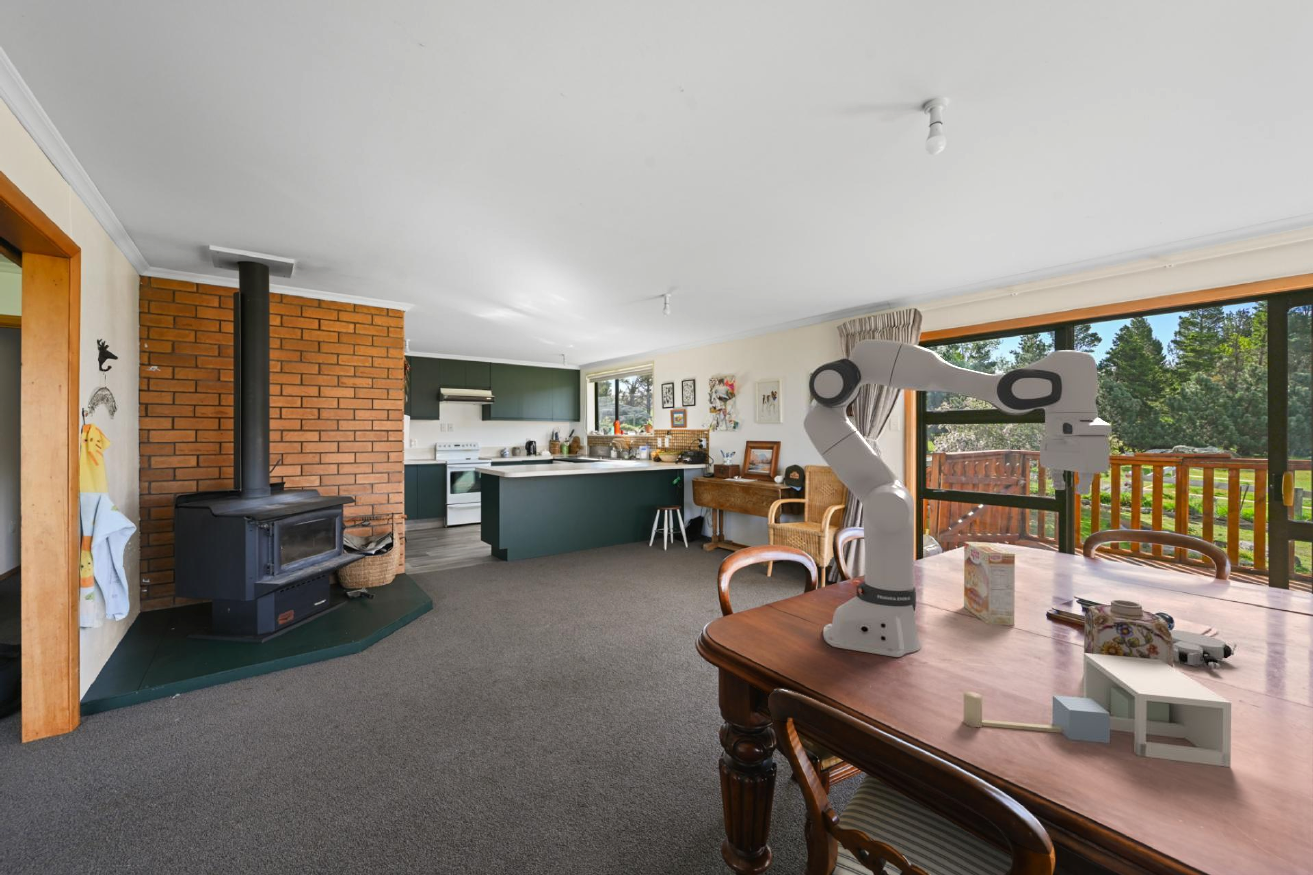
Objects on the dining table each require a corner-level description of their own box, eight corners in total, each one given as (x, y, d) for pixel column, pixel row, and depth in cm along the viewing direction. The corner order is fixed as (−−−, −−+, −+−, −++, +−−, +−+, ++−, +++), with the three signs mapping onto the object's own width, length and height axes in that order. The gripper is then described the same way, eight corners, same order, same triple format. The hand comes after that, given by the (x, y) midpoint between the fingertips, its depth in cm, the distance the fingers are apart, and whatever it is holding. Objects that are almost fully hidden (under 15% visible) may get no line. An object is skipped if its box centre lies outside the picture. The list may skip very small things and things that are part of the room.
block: (1127, 728, 92) (1128, 699, 92) (1110, 713, 97) (1110, 686, 97) (1168, 732, 91) (1169, 704, 91) (1149, 717, 96) (1149, 690, 96)
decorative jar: (1174, 714, 97) (1175, 616, 97) (1092, 697, 103) (1093, 605, 103) (1156, 687, 107) (1157, 599, 107) (1083, 673, 113) (1083, 590, 113)
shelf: (1138, 755, 84) (1138, 693, 84) (1083, 705, 100) (1083, 652, 100) (1230, 766, 82) (1231, 702, 81) (1158, 713, 97) (1159, 659, 97)
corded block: (969, 730, 92) (970, 701, 91) (958, 715, 96) (958, 687, 96) (1109, 743, 88) (1109, 713, 88) (1090, 726, 93) (1090, 698, 93)
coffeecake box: (962, 606, 157) (963, 541, 157) (988, 607, 156) (989, 542, 156) (987, 624, 142) (987, 552, 142) (1015, 626, 141) (1016, 553, 141)
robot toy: (1222, 681, 112) (1237, 659, 120) (1222, 660, 112) (1237, 640, 120) (1145, 661, 122) (1164, 642, 130) (1145, 641, 122) (1164, 624, 130)
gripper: (1031, 427, 123) (1031, 486, 123) (1079, 426, 103) (1079, 497, 103) (1062, 427, 122) (1062, 487, 122) (1117, 426, 102) (1116, 497, 102)
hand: (1070, 491), depth 112 cm, fingers open, 8 cm apart
